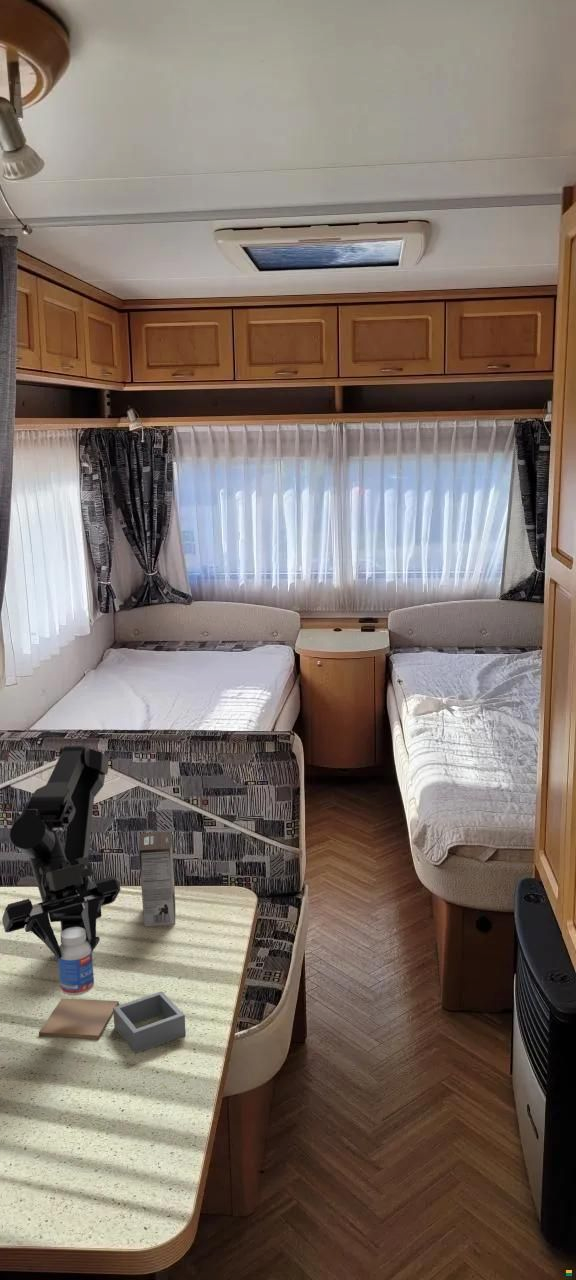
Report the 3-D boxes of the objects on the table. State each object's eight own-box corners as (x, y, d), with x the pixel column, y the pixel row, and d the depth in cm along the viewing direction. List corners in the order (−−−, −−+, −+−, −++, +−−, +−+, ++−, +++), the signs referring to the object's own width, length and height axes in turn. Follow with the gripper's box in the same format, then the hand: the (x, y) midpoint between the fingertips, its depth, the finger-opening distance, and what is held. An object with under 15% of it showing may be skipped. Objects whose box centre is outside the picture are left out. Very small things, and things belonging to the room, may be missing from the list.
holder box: (114, 1027, 157) (112, 1007, 156) (163, 1010, 161) (161, 991, 161) (135, 1053, 150) (133, 1032, 149) (185, 1035, 154) (184, 1014, 153)
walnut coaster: (62, 1001, 165) (61, 998, 165) (118, 1004, 164) (118, 1001, 163) (39, 1035, 155) (38, 1032, 155) (99, 1039, 154) (98, 1035, 154)
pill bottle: (86, 998, 155) (81, 942, 154) (55, 995, 157) (49, 940, 155) (99, 979, 161) (94, 925, 159) (69, 977, 162) (64, 923, 160)
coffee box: (144, 906, 200) (139, 832, 197) (176, 904, 200) (171, 830, 197) (143, 927, 191) (137, 849, 188) (176, 924, 191) (171, 847, 188)
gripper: (0, 858, 153) (27, 951, 146) (112, 830, 162) (142, 917, 155) (-9, 886, 161) (16, 976, 154) (98, 859, 170) (127, 942, 163)
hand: (77, 952), depth 156 cm, fingers closed on pill bottle, 5 cm apart
